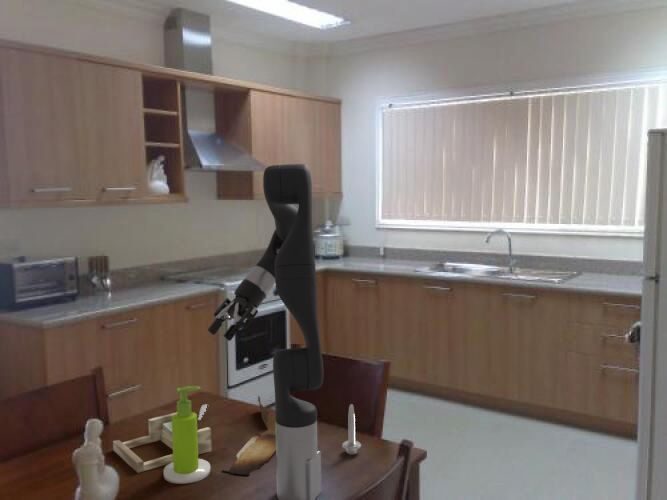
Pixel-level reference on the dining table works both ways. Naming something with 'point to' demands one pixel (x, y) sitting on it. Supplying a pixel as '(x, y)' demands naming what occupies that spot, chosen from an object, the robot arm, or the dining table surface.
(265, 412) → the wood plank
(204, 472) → the ceramic trivet
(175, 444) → the soap dispenser
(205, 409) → the butter knife
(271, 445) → the parchment
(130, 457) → the offcut rack
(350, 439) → the screw
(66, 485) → the dining table surface
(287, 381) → the robot arm
